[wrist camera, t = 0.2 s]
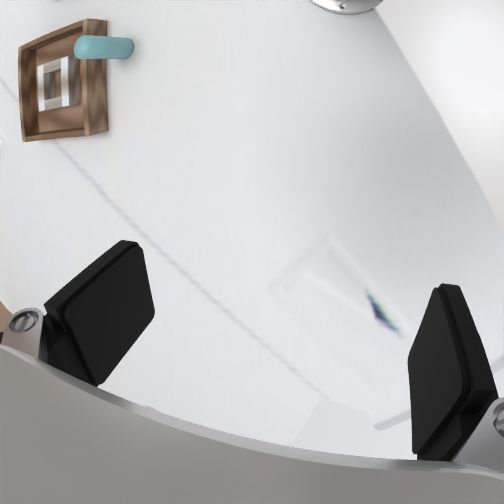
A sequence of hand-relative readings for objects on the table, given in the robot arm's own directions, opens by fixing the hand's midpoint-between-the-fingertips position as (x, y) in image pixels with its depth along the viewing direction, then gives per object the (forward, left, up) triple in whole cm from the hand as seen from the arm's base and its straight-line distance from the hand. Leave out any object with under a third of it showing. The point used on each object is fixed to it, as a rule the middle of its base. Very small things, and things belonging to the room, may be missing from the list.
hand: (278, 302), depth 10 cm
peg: (-14, -33, -36) cm, 51 cm away
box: (-10, -46, -36) cm, 60 cm away
